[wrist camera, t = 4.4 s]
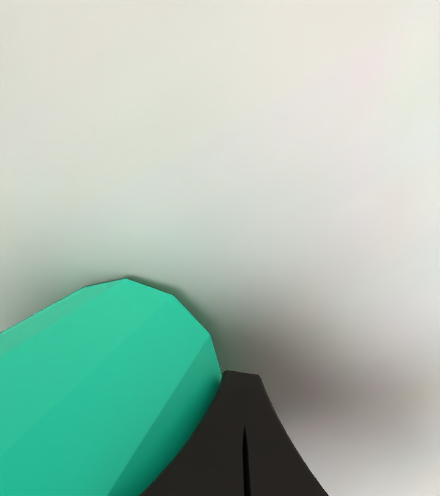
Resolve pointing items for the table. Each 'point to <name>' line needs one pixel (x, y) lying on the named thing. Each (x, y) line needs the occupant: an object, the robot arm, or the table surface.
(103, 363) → the candle
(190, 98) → the table surface
